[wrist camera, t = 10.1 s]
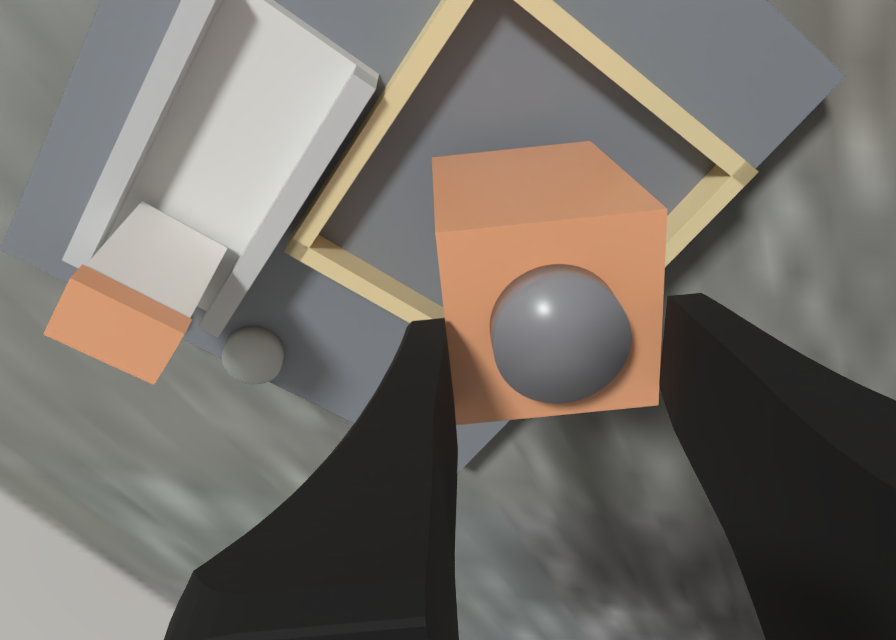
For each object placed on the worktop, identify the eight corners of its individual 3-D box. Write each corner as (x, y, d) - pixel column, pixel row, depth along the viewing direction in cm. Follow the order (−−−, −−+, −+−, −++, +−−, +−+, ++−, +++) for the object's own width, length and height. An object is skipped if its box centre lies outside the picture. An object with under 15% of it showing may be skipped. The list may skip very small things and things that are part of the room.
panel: (817, 63, 19) (879, 90, 16) (455, 444, 26) (459, 505, 23) (300, -430, 13) (271, -505, 11) (26, 227, 20) (-30, 275, 18)
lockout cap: (590, 140, 17) (683, 223, 11) (591, 286, 19) (671, 428, 13) (432, 157, 17) (435, 248, 11) (447, 301, 19) (458, 449, 13)
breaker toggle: (229, 247, 18) (184, 334, 15) (203, 292, 19) (154, 384, 16) (140, 198, 17) (70, 277, 14) (116, 247, 18) (43, 334, 15)
